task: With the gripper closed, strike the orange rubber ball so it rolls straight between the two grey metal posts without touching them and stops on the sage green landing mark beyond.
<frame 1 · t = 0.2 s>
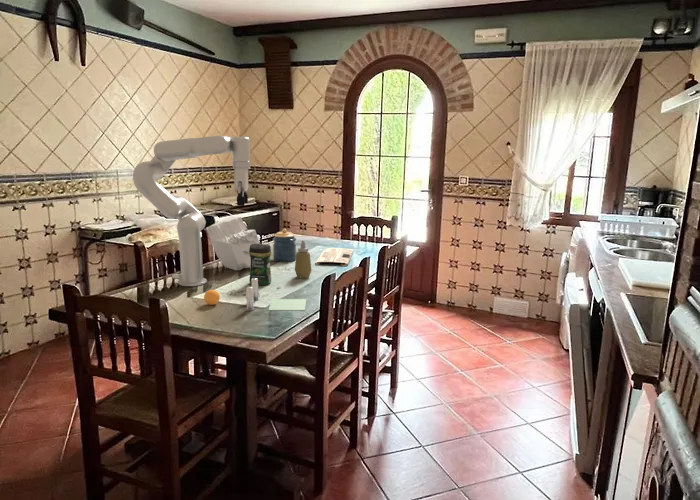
hand: (242, 204, 223), 36 cm above the table, tool pointing down, fingers open, 9 cm apart
ball: (211, 297, 199), on the table
post 2: (255, 299, 206), on the table
post 1: (250, 309, 194), on the table
coffee jar: (260, 283, 231), on the table
white lumpy block: (237, 268, 260), on the table
landing mark: (288, 304, 201), on the table
newspaper: (333, 259, 287), on the table
canister: (284, 260, 281), on the table
squeeze bottle: (303, 277, 244), on the table
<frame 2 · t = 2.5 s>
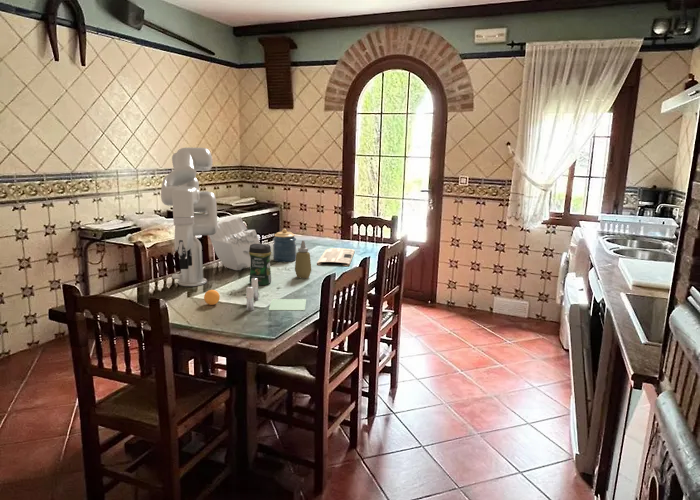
hand: (186, 266, 196), 15 cm above the table, tool pointing down, fingers open, 4 cm apart
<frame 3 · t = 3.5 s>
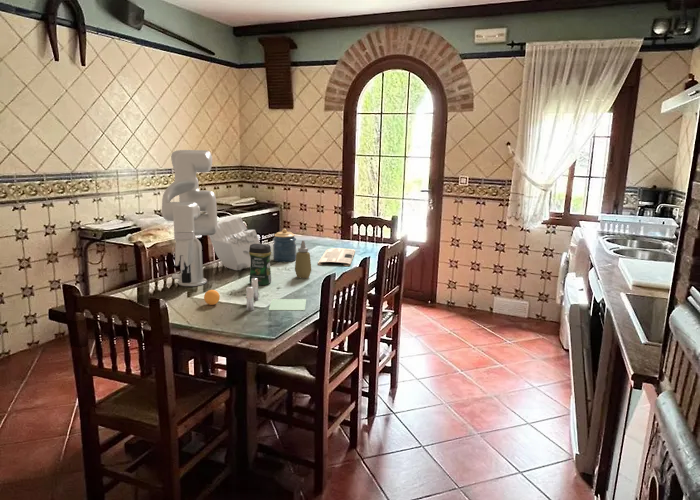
hand: (186, 282, 196), 9 cm above the table, tool pointing down, fingers closed
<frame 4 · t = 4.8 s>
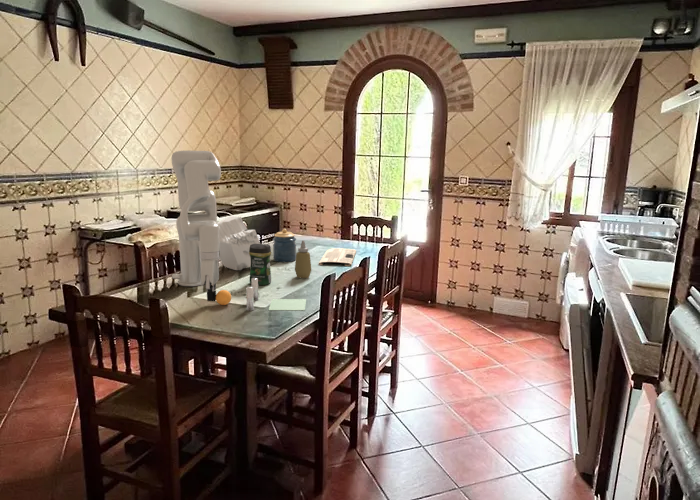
hand: (211, 300, 198), 2 cm above the table, tool pointing down, fingers closed
ball: (223, 297, 199), on the table
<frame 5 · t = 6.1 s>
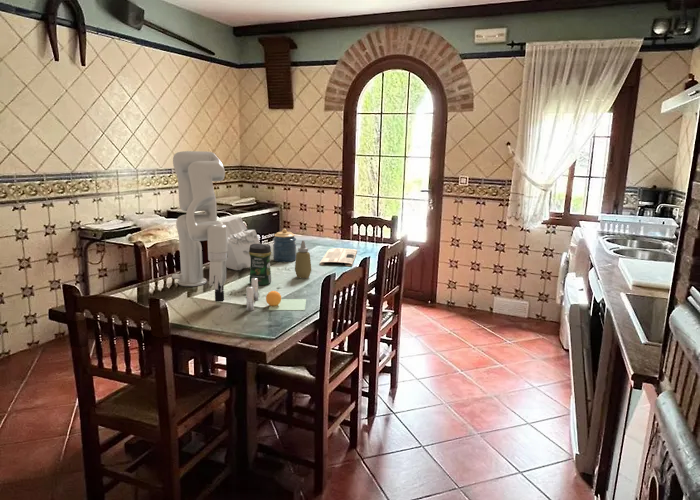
hand: (219, 300, 199), 2 cm above the table, tool pointing down, fingers closed
ball: (273, 298, 198), on the table
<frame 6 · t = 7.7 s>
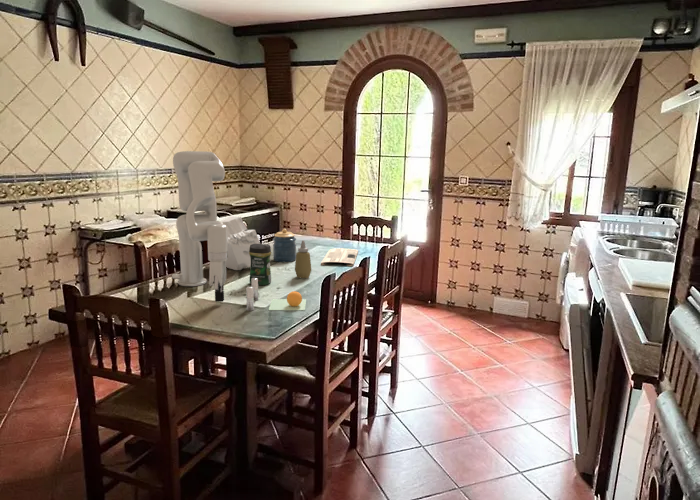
hand: (219, 300, 199), 2 cm above the table, tool pointing down, fingers closed
ball: (294, 298, 198), on the table
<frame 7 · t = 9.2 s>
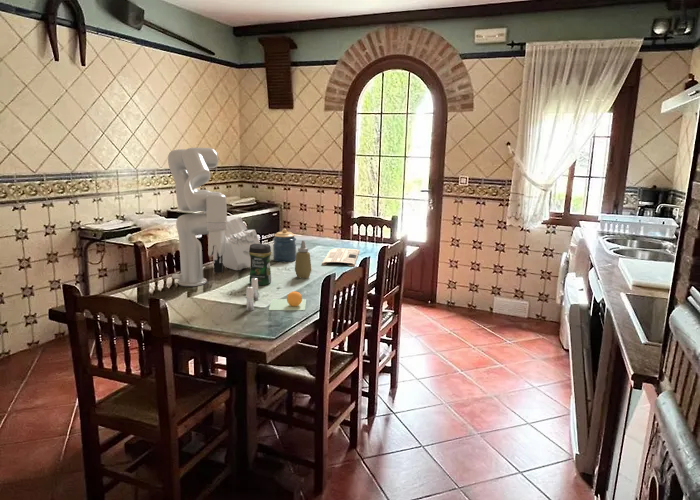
hand: (218, 272, 197), 13 cm above the table, tool pointing down, fingers closed
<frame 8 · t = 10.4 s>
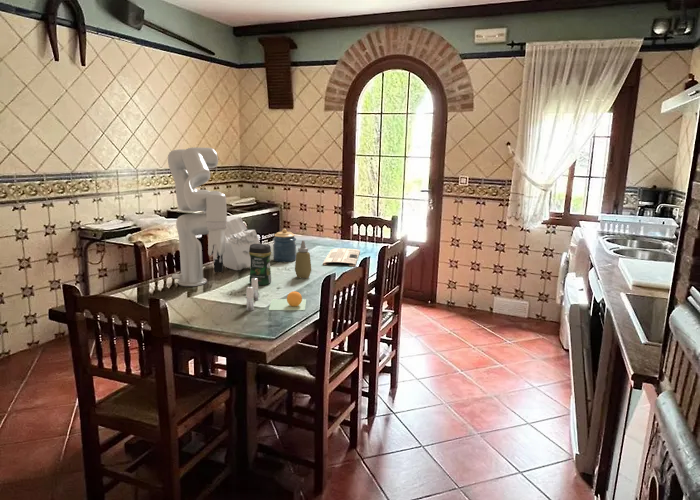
hand: (218, 271, 197), 14 cm above the table, tool pointing down, fingers closed
at the end: ball 3.2 cm from the landing mark (horizontally); ball never touched post 2; ball never touched post 1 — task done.
